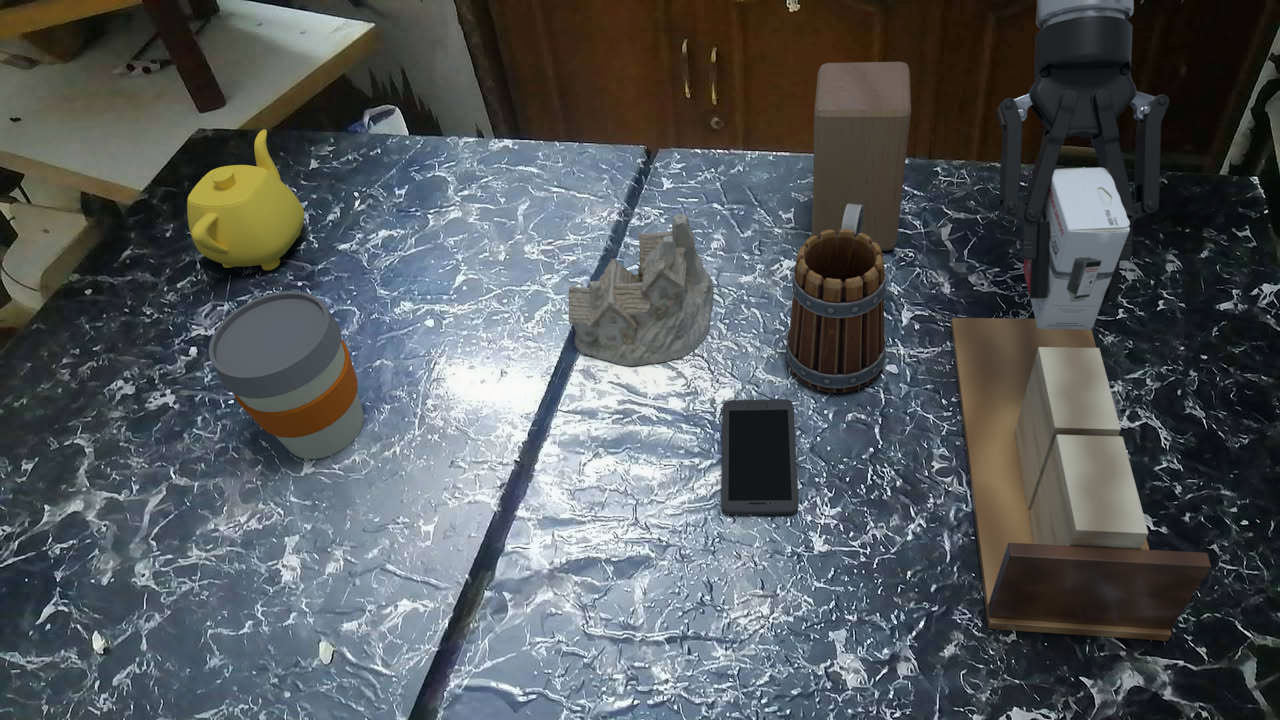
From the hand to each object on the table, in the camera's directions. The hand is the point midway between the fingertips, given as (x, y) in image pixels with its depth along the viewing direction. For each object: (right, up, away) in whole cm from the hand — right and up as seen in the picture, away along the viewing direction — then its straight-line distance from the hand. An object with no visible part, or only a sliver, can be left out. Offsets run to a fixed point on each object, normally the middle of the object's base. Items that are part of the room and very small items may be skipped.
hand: (1073, 298), depth 80 cm
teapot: (-89, +10, +47) cm, 101 cm away
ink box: (+1, 0, +5) cm, 5 cm away
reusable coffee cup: (-73, -13, +23) cm, 77 cm away
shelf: (+1, -15, +8) cm, 17 cm away
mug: (-16, -4, +22) cm, 27 cm away
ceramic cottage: (-37, 0, +28) cm, 46 cm away
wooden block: (-11, +11, +35) cm, 38 cm away
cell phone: (-26, -15, +13) cm, 32 cm away
